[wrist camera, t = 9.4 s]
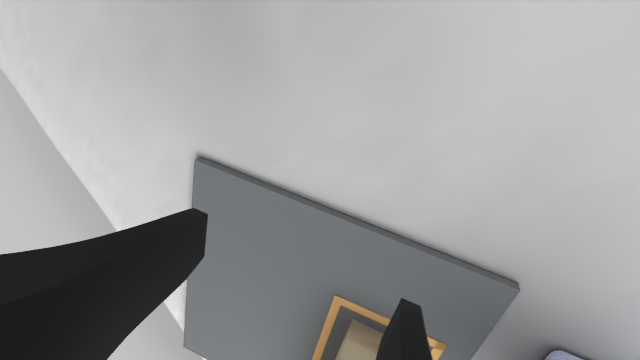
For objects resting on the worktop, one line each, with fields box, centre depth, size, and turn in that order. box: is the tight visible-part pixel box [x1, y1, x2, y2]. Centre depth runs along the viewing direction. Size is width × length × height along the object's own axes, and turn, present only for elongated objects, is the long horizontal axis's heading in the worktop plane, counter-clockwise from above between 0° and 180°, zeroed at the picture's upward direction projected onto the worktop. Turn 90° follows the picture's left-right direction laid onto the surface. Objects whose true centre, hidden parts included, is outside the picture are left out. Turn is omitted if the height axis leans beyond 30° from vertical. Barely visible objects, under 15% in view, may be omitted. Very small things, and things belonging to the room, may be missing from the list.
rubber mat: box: [183, 157, 520, 360], centre depth 26 cm, size 21×20×1 cm
